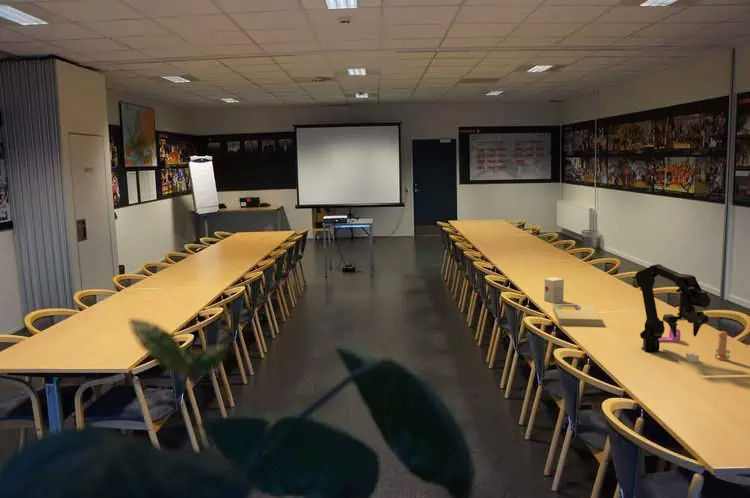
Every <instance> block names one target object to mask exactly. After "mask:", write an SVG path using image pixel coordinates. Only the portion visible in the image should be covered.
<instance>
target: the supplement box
mask: <svg viewBox="0 0 750 498" xmlns="http://www.w3.org/2000/svg"><path fill="white" fill-rule="evenodd" d="M564 284H565V280H564V278H560V277H556V276H553V277H546V278H544V292H543V293H544V295H543V299H544V302H549V303H551V304H558V303H562V302H564V289H565V288H564V287H565V285H564Z"/></svg>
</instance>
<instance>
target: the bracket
mask: <svg viewBox="0 0 750 498" xmlns="http://www.w3.org/2000/svg"><path fill="white" fill-rule="evenodd" d="M681 334H682V333H681V330H680V329H679V328H677V327H676V337H674V335H673V333H672V331H671V328H670V327H669V330H668V336H662V337H661V338H658V339H659V342H660V343H681Z"/></svg>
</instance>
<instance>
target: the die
mask: <svg viewBox="0 0 750 498" xmlns="http://www.w3.org/2000/svg"><path fill="white" fill-rule="evenodd" d="M699 359H700V355H699V354H697V353H695V352H686V353H685V360H686V361H688V362H689V363H699Z"/></svg>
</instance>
